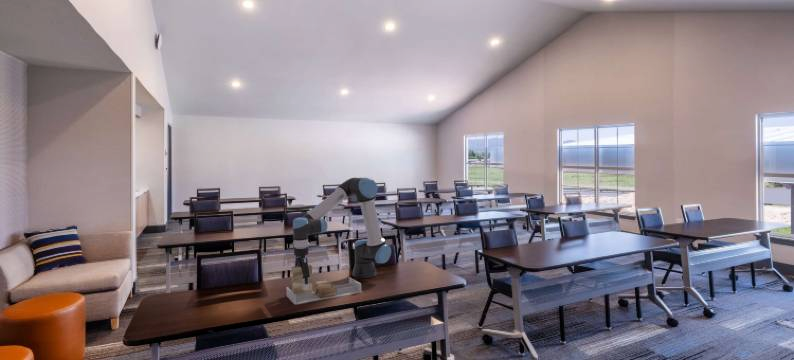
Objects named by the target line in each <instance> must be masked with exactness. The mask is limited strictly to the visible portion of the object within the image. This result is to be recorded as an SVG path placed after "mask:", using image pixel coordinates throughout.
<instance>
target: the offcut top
mask: <svg viewBox="0 0 794 360" xmlns="http://www.w3.org/2000/svg"><path fill="white" fill-rule="evenodd" d="M315 286H317V288H318V289H319V290H322V289H329V288H331V286H332V284H331V283H330V282H329V281H328V280H320V281H315Z"/></svg>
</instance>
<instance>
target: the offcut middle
mask: <svg viewBox="0 0 794 360" xmlns="http://www.w3.org/2000/svg"><path fill="white" fill-rule="evenodd" d="M314 289H315V290H316V291H318V292H319V293H321V294H322V295H324V294H329V293H334V292H336V288H334V287H333V285H331V288H329V289H322V290H319V289H318V288H317V286H316V285H315V286H314Z"/></svg>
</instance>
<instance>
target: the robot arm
mask: <svg viewBox="0 0 794 360" xmlns="http://www.w3.org/2000/svg"><path fill="white" fill-rule="evenodd" d="M378 188H379V187H378V184H377V182H376V181H375V180H374V179H373V178H369V177H351V178H348V179H346V180H345V181H343V182H342V183H340V184H339V185H338V186H337V187H336V188H335V190H334V191H333V192H332V193H330V194H329V195H328V196H327V197H326V198H324V199H323V200H321V202H319V203H318V204H317V205H316V206H315V207H313V208H312V209H311V210H310V211H308V212H307V213H306V214H304V215H303V216H301V217H300V216H299V217H296V218H293V220H292V233H293V234H292V237H293V241H292V244H293V255H294V256H295V260H294V267H296V266H300V267H301V269H302V273H303V277H302V279H303V290H304V291H305V290H309V280H308V278H309V277H310V274H309V268H308V265H309V262H308V258H307V257H306V256H307V255H308V254H309V236H310V235H316V234H323V233H326V231H328V222H327V220H326V219H324V217H325V216H326V215H327V214H328V213H330V212H331V211H332V210H333V209H335V208H336V207H337V206H338V205H339V204H341V203H342V202H343V201H347V200H348V199H350V198H353V197H355V199H356V202H357V203H358V204H359V205H360V209H361V210H360V211H361V214H362V219H363V223H364V226H365V231H366V236H367V238H366V239H358V240H356V241H355V242H354V266H353V269H352V277H353V278H356V279H370V278H373V277H376V276H377V269H376V266H375V264H374V263H377V264H385V263H388V261H389V259H390V257H391V255H392V248H391V246H390V245H388V244H386V239H385V238H384V237H383V236H382V231H381V228H380V223H379V218H378V214H377V209H376V205H375V204H376V203H375V200H376V198H377V194H378V190H379V189H378Z"/></svg>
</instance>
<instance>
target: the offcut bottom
mask: <svg viewBox="0 0 794 360" xmlns="http://www.w3.org/2000/svg"><path fill="white" fill-rule="evenodd" d="M313 292H314V293H315V294H316V295H317V296H318V297H320V298H326V297H332V296H335V292H334V293H329V294H324V295H322V294H321V293H319V292H318V291H316V290H315V288H314V289H313Z"/></svg>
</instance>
